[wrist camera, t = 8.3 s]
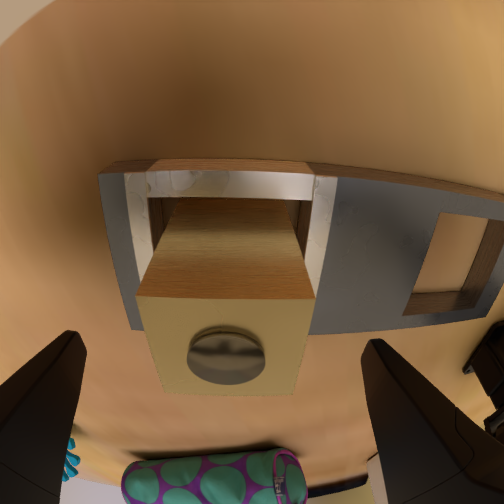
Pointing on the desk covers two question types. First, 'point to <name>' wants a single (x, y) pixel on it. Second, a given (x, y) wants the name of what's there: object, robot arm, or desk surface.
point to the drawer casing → (320, 234)
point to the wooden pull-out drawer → (227, 299)
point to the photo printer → (377, 480)
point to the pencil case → (217, 479)
